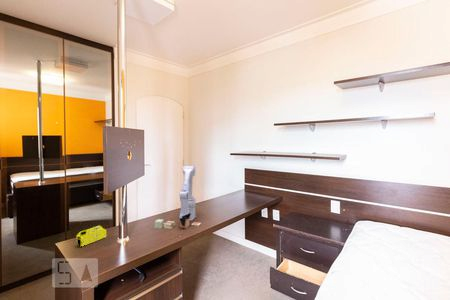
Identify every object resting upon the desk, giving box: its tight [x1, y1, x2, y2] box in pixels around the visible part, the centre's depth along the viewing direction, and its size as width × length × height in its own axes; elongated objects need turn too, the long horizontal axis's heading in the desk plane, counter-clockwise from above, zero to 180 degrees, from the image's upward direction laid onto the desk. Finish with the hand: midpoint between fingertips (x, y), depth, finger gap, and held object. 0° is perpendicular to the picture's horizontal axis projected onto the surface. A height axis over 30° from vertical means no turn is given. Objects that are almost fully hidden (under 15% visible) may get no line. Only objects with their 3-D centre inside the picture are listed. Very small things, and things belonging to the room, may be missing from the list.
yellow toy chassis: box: [76, 225, 107, 247], centre depth 142 cm, size 16×6×8 cm, turn 150°
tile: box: [191, 221, 201, 227], centre depth 170 cm, size 5×6×1 cm
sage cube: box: [154, 218, 165, 229], centre depth 165 cm, size 5×5×5 cm
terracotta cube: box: [179, 219, 190, 229], centre depth 166 cm, size 5×5×5 cm
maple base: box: [163, 220, 176, 230], centre depth 165 cm, size 6×6×4 cm
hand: (185, 224), depth 166 cm, fingers closed on terracotta cube, 5 cm apart
